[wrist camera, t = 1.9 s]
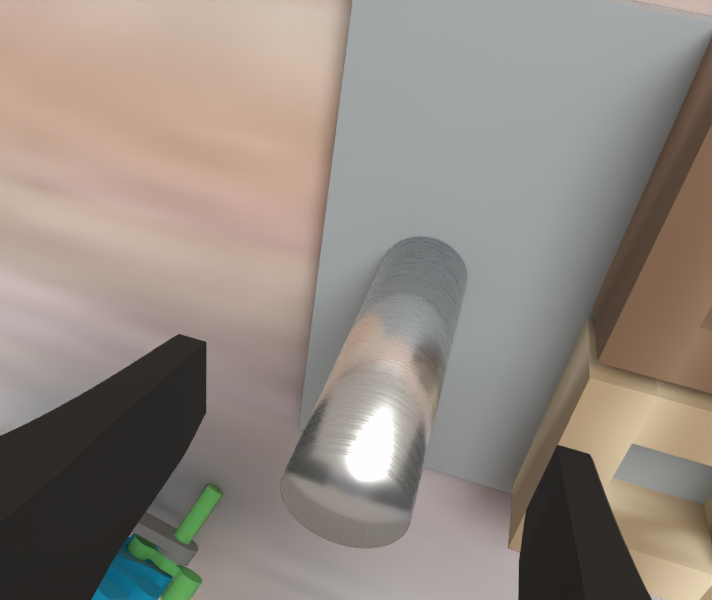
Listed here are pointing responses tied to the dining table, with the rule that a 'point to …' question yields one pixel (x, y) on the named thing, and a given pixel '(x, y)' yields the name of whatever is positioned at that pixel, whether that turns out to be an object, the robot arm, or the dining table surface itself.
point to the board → (501, 196)
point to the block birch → (609, 446)
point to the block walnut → (667, 259)
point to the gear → (158, 558)
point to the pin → (380, 402)
